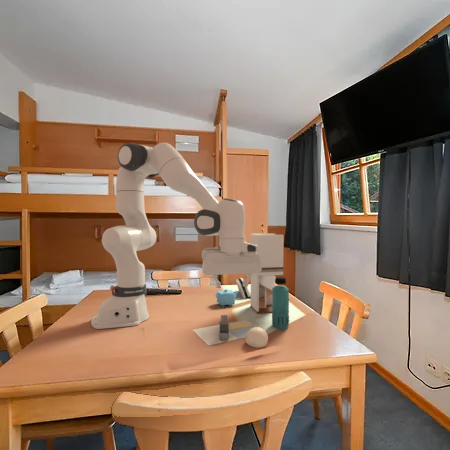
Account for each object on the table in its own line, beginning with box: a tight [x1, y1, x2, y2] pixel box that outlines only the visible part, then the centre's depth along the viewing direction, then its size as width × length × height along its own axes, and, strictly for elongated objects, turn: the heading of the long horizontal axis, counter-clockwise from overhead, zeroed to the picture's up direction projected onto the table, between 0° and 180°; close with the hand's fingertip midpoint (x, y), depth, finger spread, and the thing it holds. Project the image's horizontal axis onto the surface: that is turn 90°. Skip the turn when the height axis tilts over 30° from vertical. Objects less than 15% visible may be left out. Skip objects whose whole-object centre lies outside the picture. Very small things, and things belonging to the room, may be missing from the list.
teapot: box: [215, 288, 240, 308], centre depth 141 cm, size 12×6×8 cm, turn 103°
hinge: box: [235, 277, 251, 300], centre depth 160 cm, size 17×5×10 cm, turn 6°
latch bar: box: [219, 320, 230, 340], centre depth 101 cm, size 9×3×5 cm, turn 0°
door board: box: [192, 314, 255, 346], centre depth 104 cm, size 22×14×6 cm, turn 117°
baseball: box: [245, 326, 269, 349], centre depth 94 cm, size 7×7×7 cm
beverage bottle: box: [271, 276, 290, 330], centre depth 110 cm, size 6×7×20 cm
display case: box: [250, 233, 285, 315], centre depth 129 cm, size 11×11×35 cm
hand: (231, 286), depth 99 cm, fingers open, 8 cm apart
